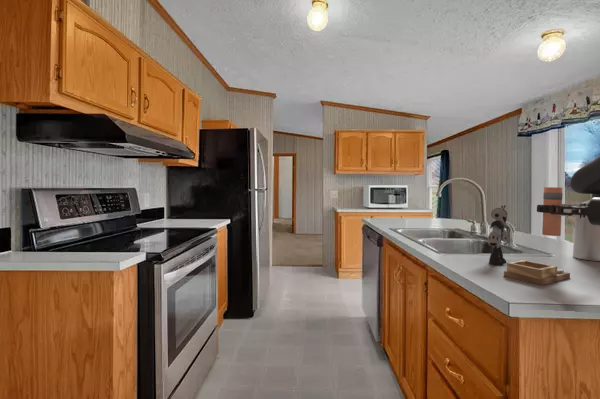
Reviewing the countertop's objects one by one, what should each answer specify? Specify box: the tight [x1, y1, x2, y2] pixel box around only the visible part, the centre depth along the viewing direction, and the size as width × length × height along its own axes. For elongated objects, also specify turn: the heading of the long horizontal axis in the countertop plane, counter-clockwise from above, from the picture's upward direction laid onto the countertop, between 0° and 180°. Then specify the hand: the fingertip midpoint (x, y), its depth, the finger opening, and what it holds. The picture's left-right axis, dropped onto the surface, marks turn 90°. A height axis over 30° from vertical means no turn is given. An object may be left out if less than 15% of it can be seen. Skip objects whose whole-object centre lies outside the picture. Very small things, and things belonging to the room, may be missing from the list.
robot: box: [487, 205, 510, 267], centre depth 119 cm, size 20×5×20 cm, turn 139°
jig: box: [503, 259, 571, 286], centre depth 102 cm, size 16×10×4 cm, turn 119°
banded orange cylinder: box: [541, 186, 564, 237], centre depth 102 cm, size 4×4×14 cm
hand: (542, 208), depth 104 cm, fingers closed on banded orange cylinder, 4 cm apart
